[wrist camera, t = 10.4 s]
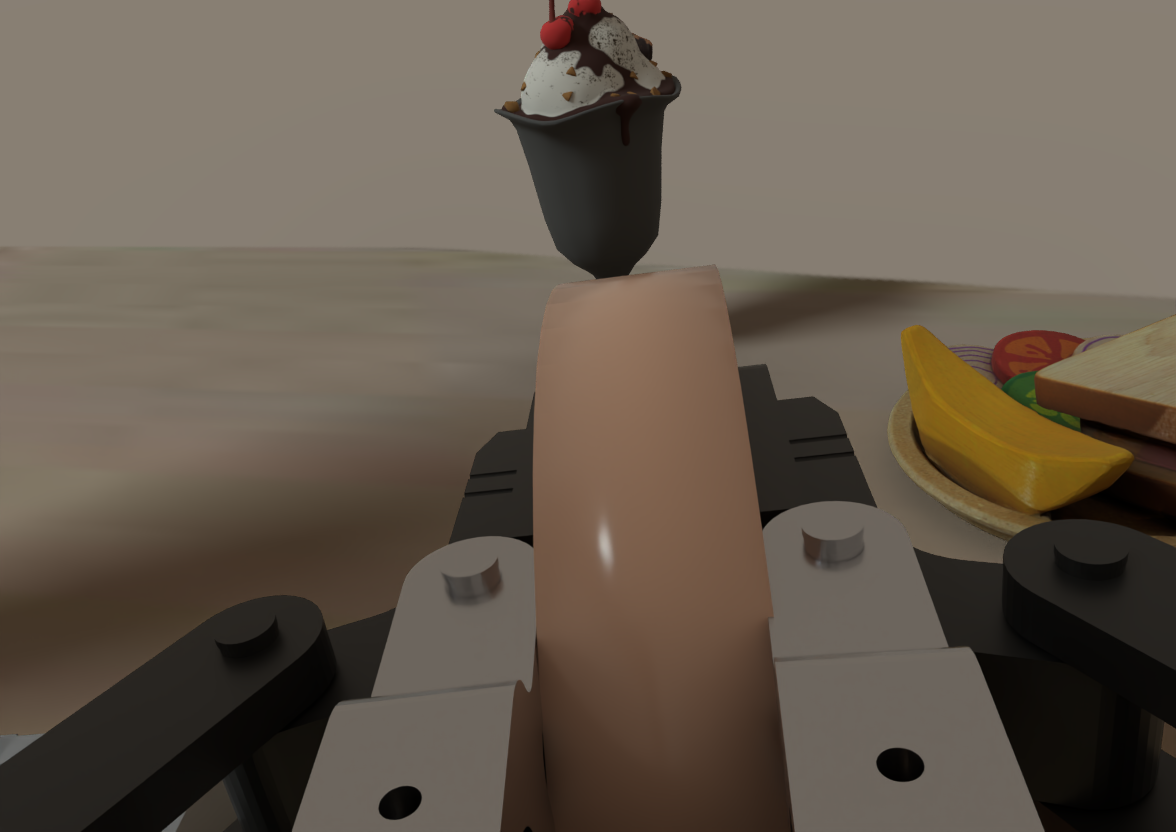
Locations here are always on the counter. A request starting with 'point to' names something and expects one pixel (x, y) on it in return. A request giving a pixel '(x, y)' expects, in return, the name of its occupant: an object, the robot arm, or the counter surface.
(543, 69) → the sundae
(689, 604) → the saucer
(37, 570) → the counter surface
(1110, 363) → the toy sandwich meal
